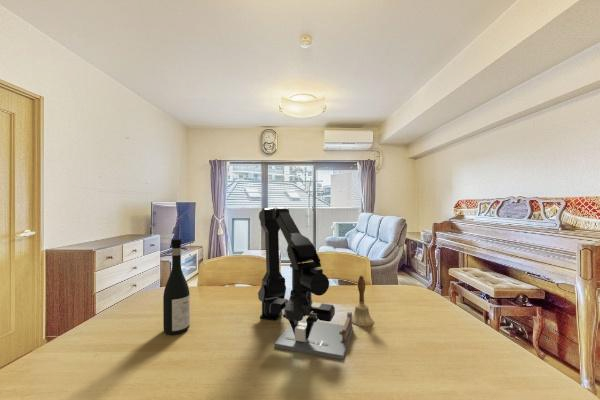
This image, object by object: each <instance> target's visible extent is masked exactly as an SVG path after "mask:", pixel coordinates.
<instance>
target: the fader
mask: <svg viewBox="0 0 600 400" xmlns="http://www.w3.org/2000/svg"><path fill="white" fill-rule="evenodd" d="M306 328H307V323H300V322H299V323H298V325H297V326H296V327H295V341H301V342H305V341H306Z"/></svg>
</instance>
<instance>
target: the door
mask: <svg viewBox="0 0 600 400" xmlns="http://www.w3.org/2000/svg"><path fill="white" fill-rule="evenodd" d="M343 325H344V327H343V329H342V331H340V333H339V334H340V335H342V342H346V340H347V337H348V334H349V331H350V328H351V317H347V316H346V319H345V321H344V324H343Z"/></svg>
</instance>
